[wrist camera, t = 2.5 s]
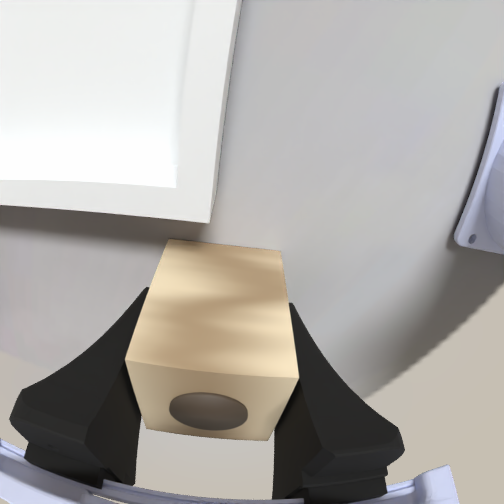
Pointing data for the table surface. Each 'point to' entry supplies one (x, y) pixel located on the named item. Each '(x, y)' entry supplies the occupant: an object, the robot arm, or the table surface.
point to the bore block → (214, 343)
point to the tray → (115, 104)
